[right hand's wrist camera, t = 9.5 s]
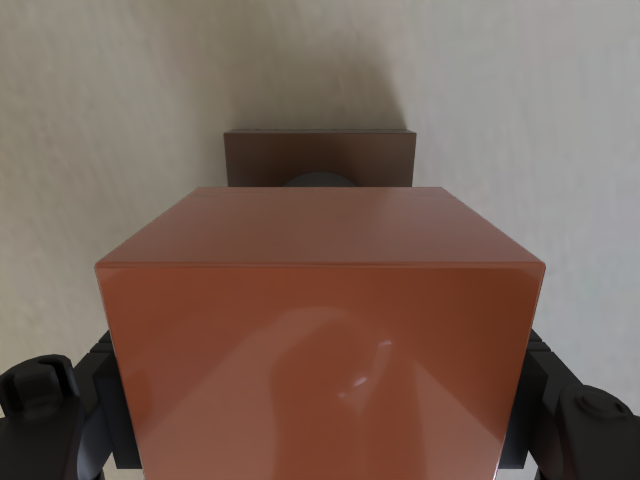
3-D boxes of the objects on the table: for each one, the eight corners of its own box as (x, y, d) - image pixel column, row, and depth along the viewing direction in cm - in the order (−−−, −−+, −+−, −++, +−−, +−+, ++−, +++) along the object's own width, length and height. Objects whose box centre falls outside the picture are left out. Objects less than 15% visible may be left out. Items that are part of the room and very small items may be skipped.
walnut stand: (231, 129, 21) (131, 166, 10) (408, 129, 21) (508, 166, 10) (260, 478, 31) (226, 693, 20) (380, 478, 31) (413, 693, 20)
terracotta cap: (196, 186, 12) (90, 263, 6) (443, 186, 12) (549, 263, 6) (220, 382, 15) (161, 553, 9) (419, 382, 15) (479, 553, 9)
